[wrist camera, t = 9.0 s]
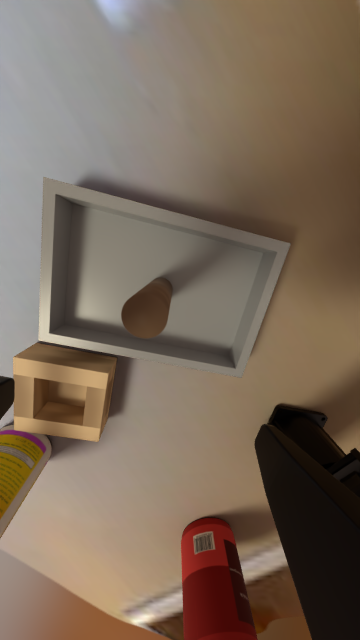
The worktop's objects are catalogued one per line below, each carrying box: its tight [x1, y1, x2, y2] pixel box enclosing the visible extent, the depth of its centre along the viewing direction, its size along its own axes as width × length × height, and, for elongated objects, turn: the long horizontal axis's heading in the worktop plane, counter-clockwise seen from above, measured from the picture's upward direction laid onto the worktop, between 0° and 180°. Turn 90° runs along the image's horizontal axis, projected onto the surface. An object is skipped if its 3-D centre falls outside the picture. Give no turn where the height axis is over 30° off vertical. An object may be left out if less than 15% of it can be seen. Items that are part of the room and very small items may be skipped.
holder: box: [13, 343, 117, 442], centre depth 20 cm, size 8×8×3 cm
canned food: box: [181, 518, 258, 640], centre depth 24 cm, size 8×8×11 cm
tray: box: [39, 177, 291, 378], centre depth 17 cm, size 18×12×3 cm, turn 77°
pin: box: [121, 277, 173, 338], centre depth 14 cm, size 2×2×9 cm
